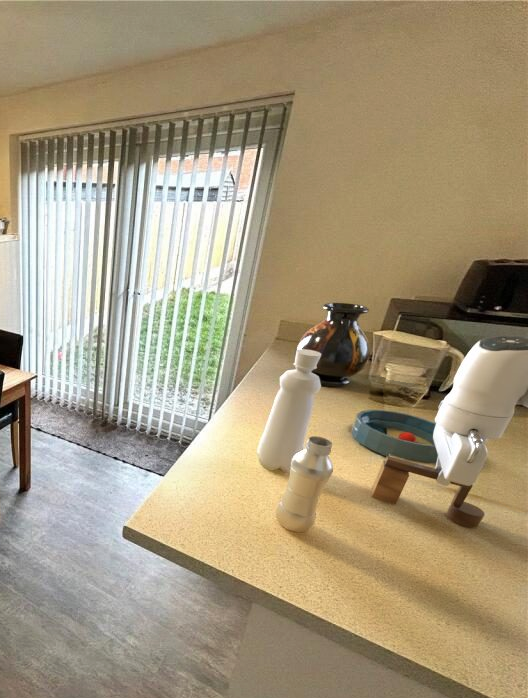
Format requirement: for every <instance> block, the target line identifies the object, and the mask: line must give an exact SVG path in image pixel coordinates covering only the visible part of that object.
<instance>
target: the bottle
mask: <svg viewBox="0 0 528 698" xmlns="http://www.w3.org/2000/svg"><path fill="white" fill-rule="evenodd" d="M320 357H321V353H319V352H316V351H313V350H306V349H300V350H297V352H296V358H294V359H295V360H294V362H293V363H292V365H293V366H294V367H295V369H288V370H286V371H285V372H284V373H283V374H282V375H281V376H280V377H279V387H280V389H279V390H278V391H277V393H276V396H275V398H274V401H273V404H272V407H271V410H270V413H269V416H268V418H267V422H266V425H265V428H264V431H263V433H262V435H261V437H260V438H259V443H258V446H257V450H256V455H257V459H258V462H259V464H260V466H262V467H263V468H264V469H266V470H268V471H270V472H271V471H274V470H277V469H280V470H281V471H282V472H283V473H284V474H290V468H291V461H292V458H293V457H294V456H295V455H296V454H297V453H299V452H301V451H302V450H304V446H305V445H304V444H305V441H306V436H307V433H308V429H309V425H310V421H311V417H312V415H313V414H312V413H313V409H314V406H315V395H316V394H317V393H318V392H319V391H320V389H321V388H322V385H321V383H320V379H319V376H317V375H316V374H314V373H311V371H312V370H313V369H316V368H317V367H316V365H317V363H318V361H319V359H320Z"/></svg>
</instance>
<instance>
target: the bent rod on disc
mask: <svg viewBox="0 0 528 698" xmlns="http://www.w3.org/2000/svg"><path fill="white" fill-rule="evenodd" d="M384 461H385V466H389V467H392V468H396V469H399V470H403V471H407V472H409V474H410V473H411V474H414V475H418V476H422V477H425V478H429V479H433V480H436V477H437V474H438V473H440V472H441V470H439V469H435V467H431V466H427V465H424V464H421V463H416V462H412V461H410V460H406V459H402V458H401V459H400V458H398V457H394V456H391V455H389V456H386V457H385V459H384ZM450 484H451V485H454V486H458V488H457V491H456V492H455V495H454V496H453V498H452V500H451V501H450V504H449V506H448V508H447V510H446V512H445V516H446V517H447V519H449V520H450V521H452V522H453V523H455V524H457V525H460V526H461V527H466V528H473V529H475V528H478V527H479V525H480V524H481V522H482V520H483V518H484V517H485V515H486V513H485V511H484V510H482V509H481V508H480V507H478V506H477V505H475V504H472V503H470V502H467V501H465V500H466V498H467V496H468V495H469V493H470V491H471V489H472V487H473V485H474V484H472V485H471V486H467V485H462V484H458V483H455V482H452V481H451V482H450ZM450 484H449V485H450Z"/></svg>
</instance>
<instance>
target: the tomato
mask: <svg viewBox="0 0 528 698" xmlns="http://www.w3.org/2000/svg"><path fill="white" fill-rule="evenodd" d="M398 439H402V440H406V441H410V442H414V443H416V439H417V438H416V436H415V435H413V434H412V433H409V432H402V433H400V434H399V435H398Z"/></svg>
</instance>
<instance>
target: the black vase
mask: <svg viewBox="0 0 528 698" xmlns="http://www.w3.org/2000/svg"><path fill="white" fill-rule="evenodd" d="M322 309H324V310H326V311H327V316H326V317H325V319H324V320H323V321H321V322H319V323H318V324H316V325H314V326H313V327H311V328H310V329H308V330H307V331H306V332H305V333H304V334H303V335H302V337H300V340H299V341H298V344H297V345H296V348H295V352H294V357H295V358H296V352H297V350H300V349H306V350H313V351H316V352H319V353H321V357H320V359H319V361H318V363H317V365H316V367H317V368H316V369H313V370H312V371H311V373H314V374H316V375H317V376H319V379H320V383H321V386H322V387H323V386H324V387H332V388H333V387H334V388H337V387H346V386H348V385H351V383H352V378H351V377H352V376H355V375H357V374H359V373H360V372H361V371H363V370H364V369H365V368H366V367H367V366H368V362H369V360H370V355H371V345H370V340H369V338H368V336H367V335H366V333H365V331H364V330H363V329H362V327H361V326H360V324H359V318H360V316H361V315H364V314H367V313H370V308H368V307H367V306H364V305H360V304H355V303H346V302H328V303H324V304H323V305H322ZM295 358H294V359H295Z"/></svg>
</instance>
